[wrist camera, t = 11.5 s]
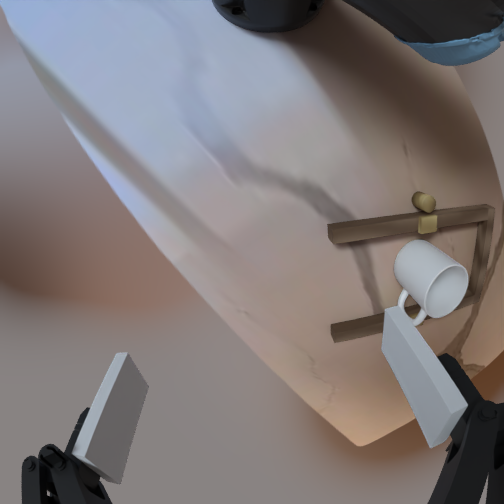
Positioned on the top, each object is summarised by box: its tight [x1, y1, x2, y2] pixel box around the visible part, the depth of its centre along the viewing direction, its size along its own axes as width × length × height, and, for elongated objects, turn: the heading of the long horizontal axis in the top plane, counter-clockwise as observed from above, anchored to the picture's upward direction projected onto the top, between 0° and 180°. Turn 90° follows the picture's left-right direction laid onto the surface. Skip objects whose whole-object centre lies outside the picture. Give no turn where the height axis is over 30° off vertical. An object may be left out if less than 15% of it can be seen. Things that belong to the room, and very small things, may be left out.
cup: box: [394, 240, 468, 326], centre depth 36 cm, size 8×12×10 cm
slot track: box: [327, 192, 495, 343], centre depth 38 cm, size 22×32×3 cm
